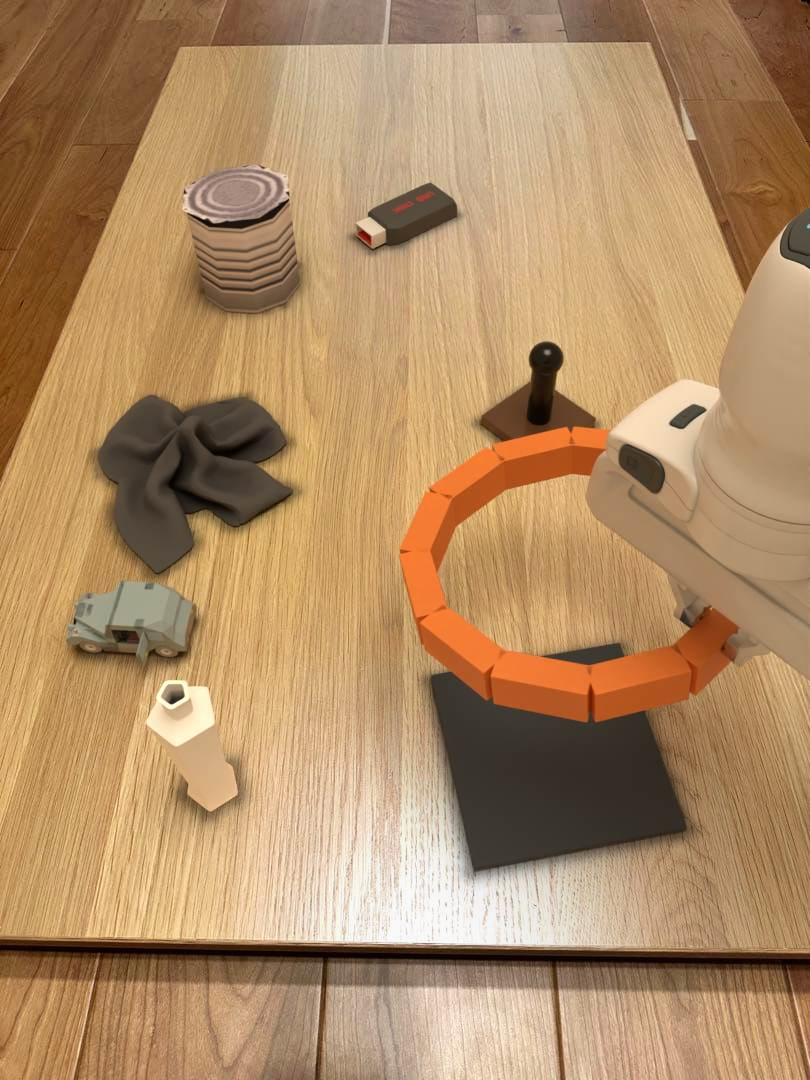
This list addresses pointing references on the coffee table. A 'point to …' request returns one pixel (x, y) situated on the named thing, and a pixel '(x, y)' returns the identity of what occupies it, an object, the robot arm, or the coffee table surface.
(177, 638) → the toy car
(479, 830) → the mat
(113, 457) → the cloth
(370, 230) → the usb drive
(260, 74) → the coffee table surface
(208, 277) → the can
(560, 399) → the post
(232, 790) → the cream vase
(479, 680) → the hoop
